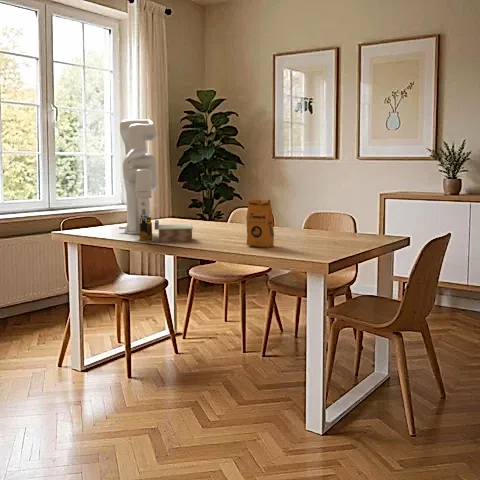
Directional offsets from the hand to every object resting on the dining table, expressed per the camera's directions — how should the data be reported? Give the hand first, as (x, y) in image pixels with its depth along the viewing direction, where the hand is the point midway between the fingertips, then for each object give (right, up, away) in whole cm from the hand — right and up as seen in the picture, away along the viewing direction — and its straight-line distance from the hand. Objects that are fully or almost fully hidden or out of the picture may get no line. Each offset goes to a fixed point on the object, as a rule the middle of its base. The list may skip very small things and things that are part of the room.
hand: (144, 229), depth 306 cm
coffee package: (+56, -8, -17) cm, 59 cm away
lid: (+14, +1, +1) cm, 14 cm away
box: (+15, -5, +2) cm, 16 cm away
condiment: (0, -6, +1) cm, 6 cm away
